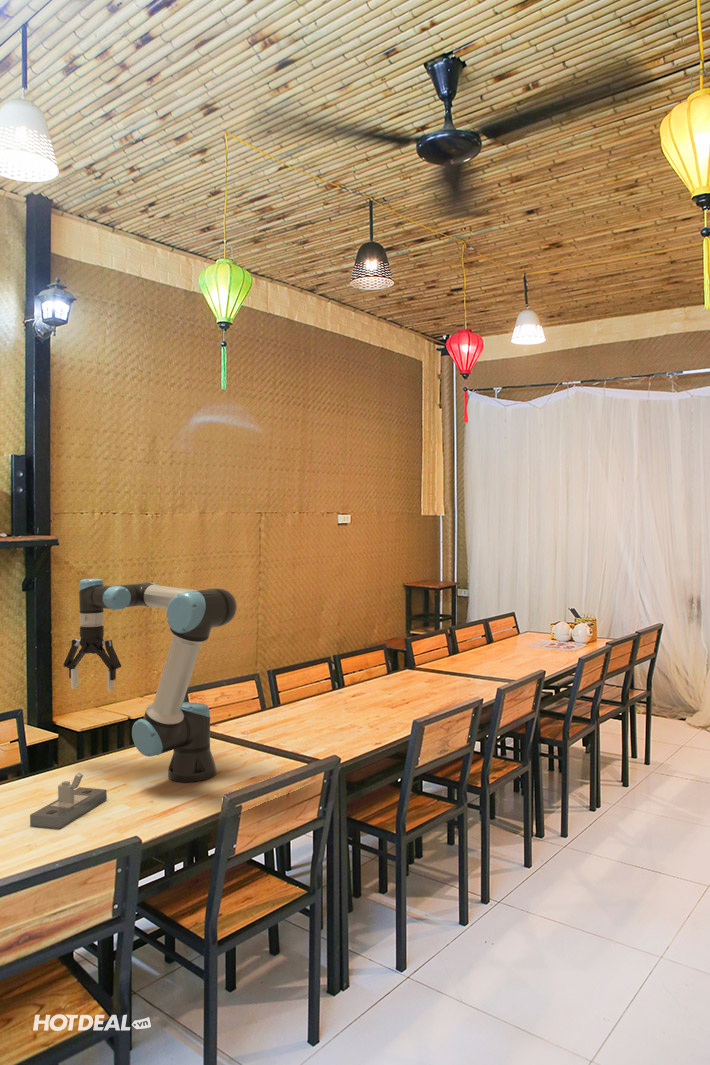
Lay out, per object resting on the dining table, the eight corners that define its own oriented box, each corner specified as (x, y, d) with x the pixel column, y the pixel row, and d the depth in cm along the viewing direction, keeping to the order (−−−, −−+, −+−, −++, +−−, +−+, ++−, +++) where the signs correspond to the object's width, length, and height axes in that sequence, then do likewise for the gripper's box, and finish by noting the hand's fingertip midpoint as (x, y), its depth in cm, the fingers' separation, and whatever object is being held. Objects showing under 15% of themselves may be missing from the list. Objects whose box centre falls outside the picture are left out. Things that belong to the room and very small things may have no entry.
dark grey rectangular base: (106, 799, 218) (106, 788, 218) (59, 828, 197) (59, 816, 197) (79, 797, 221) (79, 786, 221) (30, 825, 199) (30, 814, 199)
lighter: (57, 800, 209) (57, 772, 209) (61, 798, 211) (61, 770, 211) (80, 802, 207) (79, 774, 207) (83, 800, 209) (83, 772, 209)
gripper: (52, 625, 246) (52, 689, 246) (118, 627, 240) (119, 693, 240) (66, 623, 253) (66, 685, 253) (131, 624, 247) (132, 688, 247)
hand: (92, 689), depth 247 cm, fingers open, 13 cm apart
